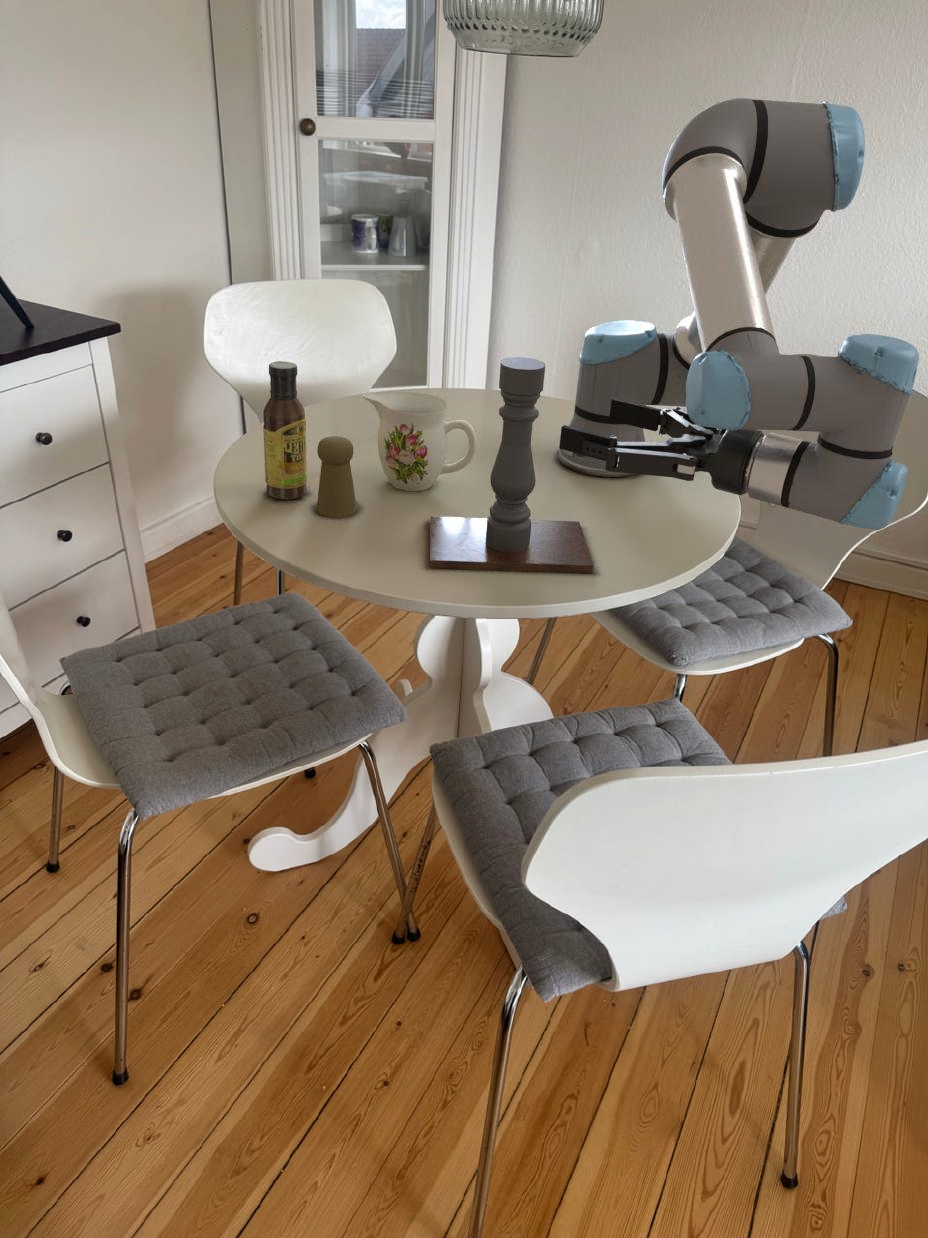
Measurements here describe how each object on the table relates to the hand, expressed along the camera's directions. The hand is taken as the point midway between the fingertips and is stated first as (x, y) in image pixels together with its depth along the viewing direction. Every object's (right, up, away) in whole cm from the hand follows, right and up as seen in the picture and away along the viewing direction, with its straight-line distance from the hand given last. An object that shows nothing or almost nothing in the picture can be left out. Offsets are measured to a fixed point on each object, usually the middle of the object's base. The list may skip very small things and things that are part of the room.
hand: (587, 422), depth 113 cm
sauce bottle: (-42, -5, +28) cm, 51 cm away
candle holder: (-9, -14, +15) cm, 22 cm away
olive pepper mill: (-34, -8, +24) cm, 43 cm away
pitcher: (-23, -3, +34) cm, 41 cm away
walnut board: (-9, -14, +16) cm, 23 cm away
